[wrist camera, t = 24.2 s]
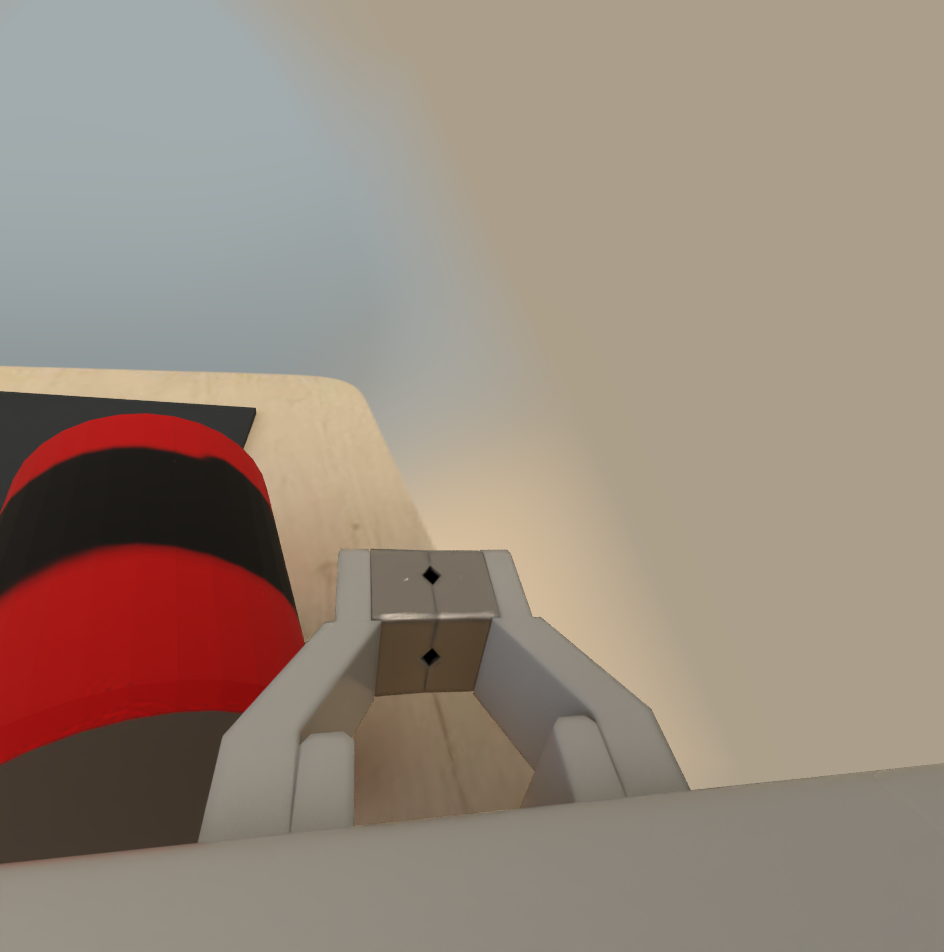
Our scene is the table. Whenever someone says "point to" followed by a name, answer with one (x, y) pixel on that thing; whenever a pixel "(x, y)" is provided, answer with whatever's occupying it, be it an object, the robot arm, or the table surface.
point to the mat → (44, 416)
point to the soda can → (131, 631)
